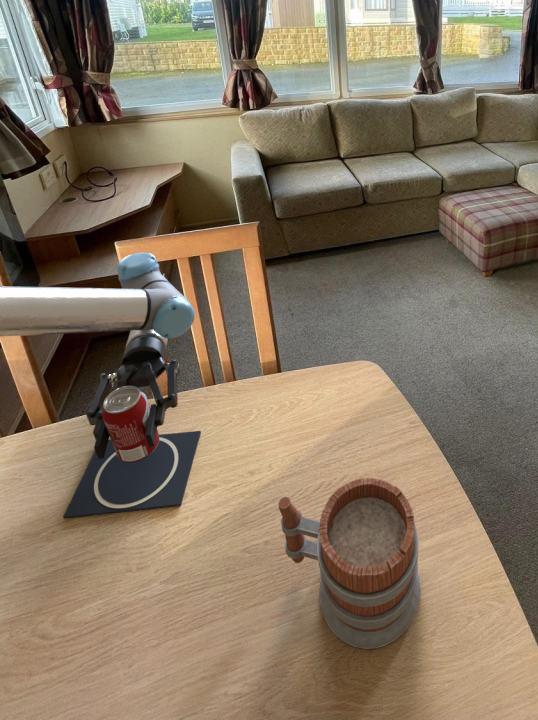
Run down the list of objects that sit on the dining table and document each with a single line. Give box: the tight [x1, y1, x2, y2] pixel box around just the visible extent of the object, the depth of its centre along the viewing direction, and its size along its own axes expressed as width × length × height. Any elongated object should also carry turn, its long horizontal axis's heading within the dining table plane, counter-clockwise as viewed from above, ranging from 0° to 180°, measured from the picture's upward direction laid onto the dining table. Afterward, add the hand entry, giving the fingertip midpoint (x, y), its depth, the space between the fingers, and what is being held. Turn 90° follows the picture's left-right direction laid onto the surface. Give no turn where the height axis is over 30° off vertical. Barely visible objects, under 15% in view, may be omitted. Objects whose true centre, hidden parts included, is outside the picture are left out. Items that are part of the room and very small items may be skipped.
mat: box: [62, 430, 202, 520], centre depth 83 cm, size 18×14×1 cm
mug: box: [277, 477, 422, 650], centre depth 65 cm, size 14×19×15 cm
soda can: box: [102, 386, 160, 463], centre depth 82 cm, size 7×7×12 cm
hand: (124, 446), depth 77 cm, fingers closed on soda can, 7 cm apart
